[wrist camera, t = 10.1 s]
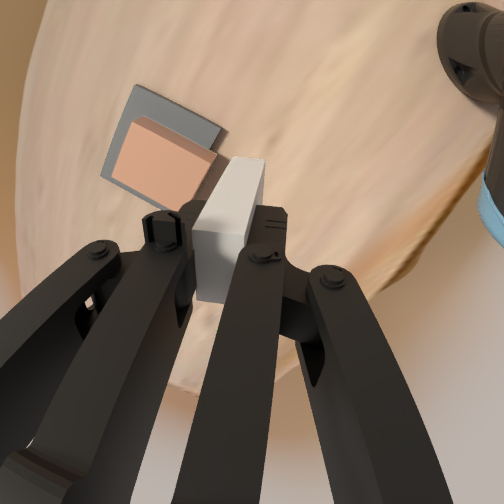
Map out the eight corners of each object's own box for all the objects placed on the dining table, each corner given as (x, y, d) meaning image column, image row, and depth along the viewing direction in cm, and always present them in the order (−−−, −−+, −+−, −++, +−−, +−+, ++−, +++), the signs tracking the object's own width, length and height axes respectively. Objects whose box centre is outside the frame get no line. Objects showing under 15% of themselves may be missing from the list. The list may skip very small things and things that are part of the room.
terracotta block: (210, 163, 40) (131, 121, 37) (182, 216, 44) (111, 176, 42) (217, 154, 43) (144, 115, 40) (190, 203, 48) (123, 166, 45)
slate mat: (222, 127, 41) (220, 128, 41) (175, 214, 50) (173, 216, 49) (137, 84, 38) (134, 84, 38) (102, 173, 47) (100, 175, 46)
